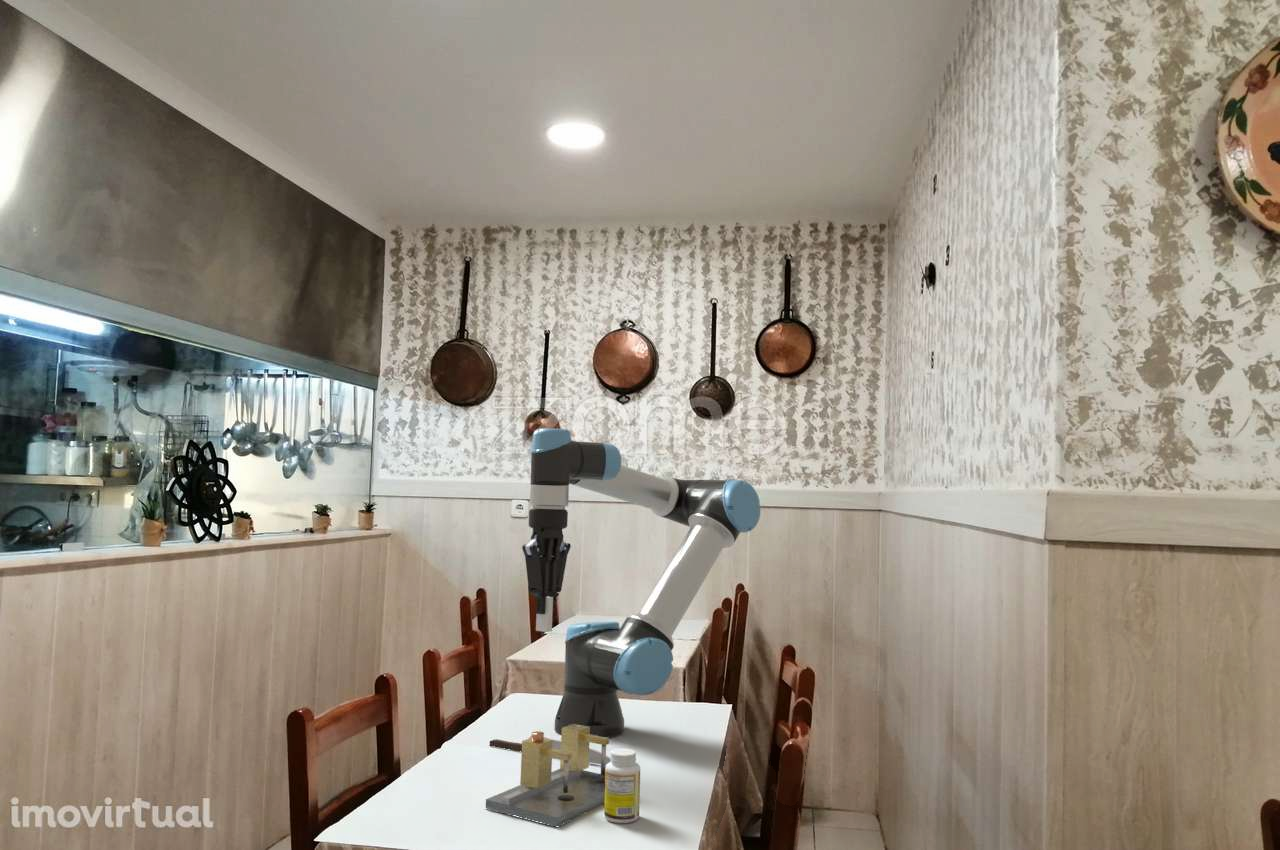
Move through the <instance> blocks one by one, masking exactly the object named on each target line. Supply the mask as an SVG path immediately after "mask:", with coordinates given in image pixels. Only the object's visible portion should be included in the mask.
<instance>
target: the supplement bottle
mask: <svg viewBox="0 0 1280 850" xmlns="http://www.w3.org/2000/svg"><path fill="white" fill-rule="evenodd" d="M609 757H610V759H611V762H609V763H608V764H607V765H606V768H605V803H604V804H603V807H604V811H603V813H604V818H605V819H606V820H607V821H609V822H610V823H611V822H612V823H615V824H629V823H633V822H636V821H637V820H638V819H639V817H640V797H641V796H640V794H641V766H640V764H639V763H637V762H636V760H637V755H636V751H635V750H633V749H630V748H614V749H612V750H611V752H610V756H609Z"/></svg>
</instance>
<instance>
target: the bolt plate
mask: <svg viewBox="0 0 1280 850" xmlns="http://www.w3.org/2000/svg"><path fill="white" fill-rule="evenodd" d="M563 777H564V769H560V768H558V769H556V770H553V771H551V783H550V784H548V785H546V786H543V787H541V788H539V789H536V788H532V787H528V786H524V785H520V784H519V785H517V786H515V787H513V788H510V789H507V790H505V791H502V792H501V793H500V792H499V793H498V794H495V795H493V796H490V797H488V798H486V799H485V809H486V808H487V809H490V810H489V811H491V810H493V811H492V812H495V811H497V812H496V813H499V812H501V813H500V814H503V813H506V814H510V815H516V816H519V817H522V818H527V819H530V820H534V821H538V822H542V823H545V824H549V825H552V826H559V825H561V824H563V823H565V822H567V821H569V820H571V821H573V820H575V819H576V817H577V818H579V817H580V815H581V816H583V815H584V813H585V814H587V813H589V812H590V810H591V811H592V809H593V810H594V808H595V809H597V808H598V807H600V806H602V805H605V775H604V776H602V775H601V773H598V772H594V771H588V770H585V769H584V770H582V771H579V772H573V771H569V775H568V793H563ZM487 809H486V810H487ZM588 811H589V812H588ZM586 812H587V813H586ZM506 814H505V815H506ZM582 814H583V815H582ZM510 815H509V816H510ZM578 816H579V817H578ZM522 818H521V819H522ZM574 818H575V819H574ZM572 819H573V820H572ZM569 822H570V821H569ZM567 823H568V822H567ZM545 824H544V825H545ZM565 824H566V823H565ZM563 825H564V824H563ZM552 826H551V827H552ZM561 826H562V825H561ZM559 827H560V826H559Z"/></svg>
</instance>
